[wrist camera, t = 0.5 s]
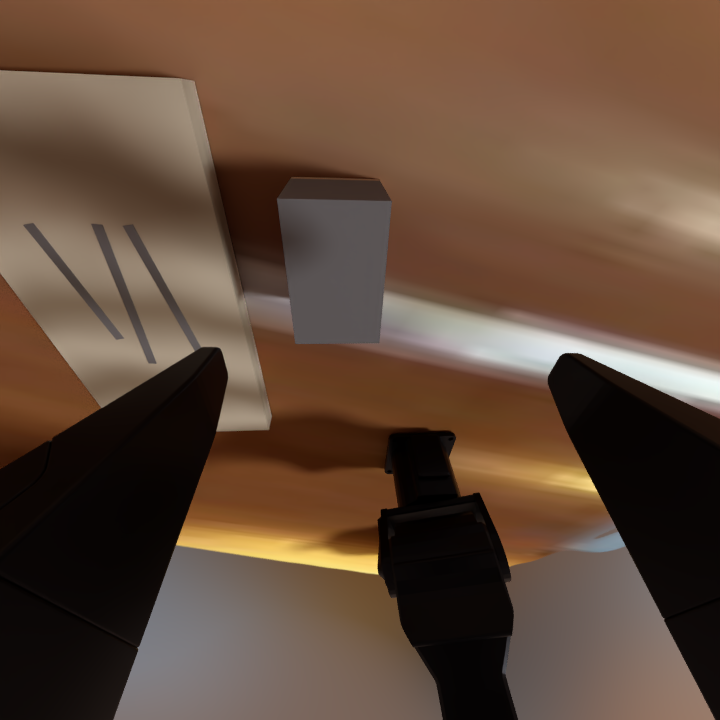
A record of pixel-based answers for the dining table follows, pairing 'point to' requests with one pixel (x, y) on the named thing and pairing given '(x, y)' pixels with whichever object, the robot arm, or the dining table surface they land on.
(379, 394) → the dining table surface
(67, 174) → the board
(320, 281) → the block
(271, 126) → the dining table surface
